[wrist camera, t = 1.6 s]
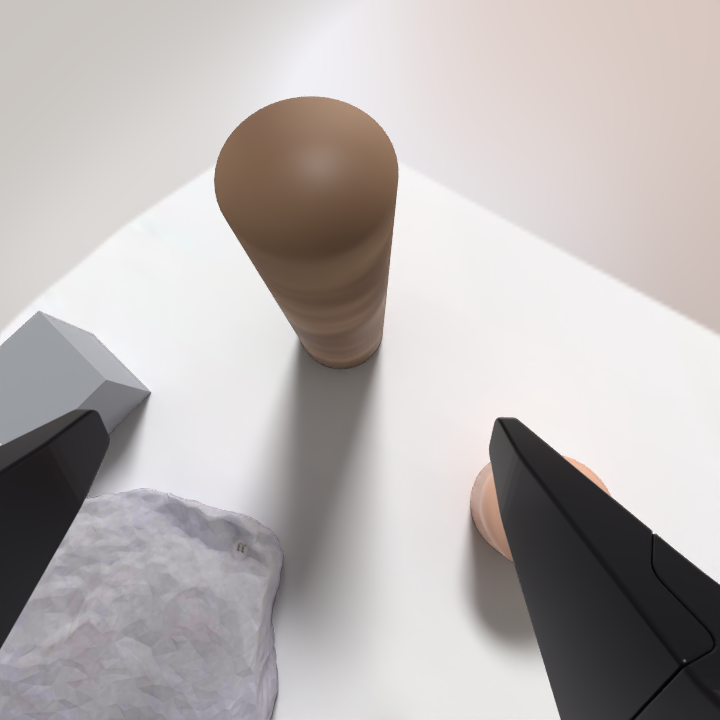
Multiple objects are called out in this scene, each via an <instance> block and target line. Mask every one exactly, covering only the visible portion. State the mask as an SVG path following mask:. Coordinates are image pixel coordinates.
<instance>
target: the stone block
mask: <svg viewBox="0 0 720 720" xmlns="http://www.w3.org/2000/svg"><path fill="white" fill-rule="evenodd" d="M282 563H283V553H282V550H281V548H280V545H279V542H278V539H277V537H276V535H275V534H274V533H273V532H272V531H271V530H270V529H269V528H266V527H265V526H263V525H262V524H260V523H259V522H258V521H257V520H255V519H253V518H251V517H248V516H245V515H243V514H239V513H235V512H231V511H225V510H221V509H217V508H214V507H210V506H206V505H204V504H202V503H200V502H198V501H195V500H187V499H183V498H180V497H177V496H175V495H173V494H171V493H164V492H160V491H156V490H152V489H145V488H141V489H136V490H132V491H127V492H122V493H118V494H103V495H100V496H98V497H94V498H85V500H84V503H83V505H82V507H81V509H80V510H79V512H78V514H77V516H76V518H75V520H74V521H73V523H72V525H71V527H70V528H69V530H68V532H67V534H66V535H65V537H64V539H63V541H62V542H61V544H60V546H59V548H58V549H57V551H56V553H55V555H54V556H53V558H52V560H51V562H50V563H49V565H48V567H47V569H46V570H45V572H44V574H43V576H42V577H41V579H40V581H39V583H38V585H37V586H36V588H35V590H34V592H33V593H32V595H31V597H30V599H29V600H28V602H27V604H26V606H25V607H24V609H23V611H22V613H21V614H20V616H19V618H18V620H17V621H16V623H15V625H14V627H13V628H12V630H11V632H10V634H9V635H8V637H7V639H6V641H5V642H4V644H3V646H2V648H1V649H0V720H270V719H271V715H272V712H273V707H274V703H275V699H276V696H277V693H278V671H277V665H276V652H275V647H274V629H273V625H272V623H271V618H272V607H273V604H274V600H275V596H276V592H277V590H278V587H279V584H280V571H281V568H282Z"/></svg>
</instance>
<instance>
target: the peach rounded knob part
mask: <svg viewBox="0 0 720 720" xmlns="http://www.w3.org/2000/svg"><path fill="white" fill-rule="evenodd" d="M563 457H564V458H565V459H566V460H567V461H569V462H570V463H571V464H572V465H573V466H575V467H576V468H577V469H578V470H580V471H581V472H582V473H583V474H584V475H586V476H587V477H588V478H589V479H590V480H592V481H593V482H594V483H595V484H596V485H598V486H599V487H600V488H601V489H602V490H604V491H605V492H606V493H607V494H608V495H610V493H609V491H608V490H607V488H606V486H605V485H604V484H603V482H602V481H601V480H600V479H599V477H598V476H597V475H596V474H595V473H594V472H592V471H591V470H590V469H589V468H588V467H586V466H585V465H583V464H582V463H580V462H578V461H576V460H574V459H571V458H569V457H565V456H563ZM610 496H611V495H610ZM471 511H472V516H473V519H474V522H475V525H476V527H477V529H478V531H479V532H480V534H481V535H482V537H483V538H484V539H485V540H486V541H487V542H488V543H489V544H490V545H491V546H492V547H493V548H495V549H496V550H497V551H499V552H500V553H501V554H502V555H504V556H505V557H506V558H508V559H509V560H510V561H512V562H513V563H514V561H513V558H512V555H511V551H510V548H509V545H508V541H507V538H506V535H505V531H504V528H503V524H502V521H501V517H500V512H499V506H498V501H497V495H496V489H495V484H494V478H493V472H492V466H491V462H490V463H489V464H487V465H486V466H485V467H484V468H483V469H482V470H481V472H480V473H479V475H478V476H477V478H476V480H475V482H474V485H473V488H472V492H471Z"/></svg>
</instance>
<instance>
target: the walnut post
mask: <svg viewBox="0 0 720 720" xmlns="http://www.w3.org/2000/svg"><path fill="white" fill-rule="evenodd" d="M214 184H215V193H216V198H217V202H218V205H219V207H220V210H221V212H222V214H223V216H224V217H225V219H226V221H227V222H228V224H229V226H230V227H231V229H232V231H233V232H234V234H235V235H236V237H237V239H238V240H239V242H240V243H241V245H242V247H243V248H244V250H245V252H246V253H247V255H248V256H249V258H250V260H251V261H252V263H253V265H254V266H255V268H256V269H257V271H258V273H259V274H260V276H261V277H262V279H263V281H264V282H265V284H266V286H267V287H268V289H269V290H270V292H271V294H272V295H273V297H274V298H275V300H276V302H277V303H278V305H279V307H280V308H281V310H282V311H283V313H284V315H285V316H286V318H287V319H288V321H289V323H290V324H291V326H292V328H293V329H294V331H295V332H296V334H297V336H298V337H299V339H300V340H301V342H302V344H303V345H304V347H305V349H306V350H307V352H308V353H309V354H310V355H311V356H312V357H313V358H314V359H315V360H316V361H317V362H319V363H321V364H322V365H325V366H327V367H331V368H336V369H346V368H352V367H355V366H358V365H360V364H362V363H364V362H365V361H366V360H368V359H369V358H370V357H371V356H372V355H373V354H374V353H375V351H376V350H377V348H378V347H379V344H380V342H381V339H382V334H383V325H384V315H385V305H386V295H387V285H388V275H389V265H390V255H391V245H392V236H393V226H394V216H395V206H396V196H397V186H398V163H397V157H396V154H395V151H394V148H393V145H392V143H391V141H390V139H389V137H388V136H387V134H386V133H385V132H384V130H383V129H382V127H381V126H379V124H378V123H377V122H376V121H375V120H374V119H373V118H371V117H370V116H369V115H368V114H366V113H365V112H363V111H362V110H360V109H358V108H357V107H354V106H352V105H350V104H348V103H345V102H342V101H339V100H335V99H330V98H325V97H297V98H290V99H286V100H282V101H279V102H276V103H273V104H270V105H268V106H266V107H264V108H262V109H260V110H258V111H257V112H255V113H254V114H252V115H251V116H249V117H248V118H247V119H245V121H243V122H242V123H241V124H240V125H239V126H238V127H237V128H236V129H235V130H234V131H233V132H232V134H231V135H230V136H229V138H228V139H227V141H226V142H225V144H224V146H223V148H222V150H221V152H220V155H219V157H218V160H217V164H216V168H215V177H214Z"/></svg>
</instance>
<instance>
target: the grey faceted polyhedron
mask: <svg viewBox="0 0 720 720" xmlns="http://www.w3.org/2000/svg"><path fill="white" fill-rule="evenodd" d="M150 393H151V392H150V391H149V390H148V389H147V388H146V387H145V386H144V385H143V384H142V383H141V382H140V381H139V380H138V379H137V378H136V377H135V376H134V375H133V374H132V373H131V372H130V371H129V370H128V369H127V368H126V367H125V366H124V365H123V364H122V363H121V362H120V361H119V360H118V359H117V358H116V357H115V356H114V355H113V354H112V353H111V352H110V351H109V350H108V349H107V348H106V347H105V346H104V345H103V344H102V343H101V342H100V341H99V340H98V339H97V338H96V337H95V336H94V335H93V334H92V333H89V332H87V331H85V330H82V329H80V328H78V327H75V326H73V325H71V324H68V323H66V322H64V321H61V320H59V319H57V318H54V317H52V316H50V315H47V314H45V313H43V312H40V311H38V312H37V313H36V314H35V315H34V316H33V317H31V318H30V319H29V320H28V321H27V322H26V323H25V324H24V325H23V326H22V327H21V328H19V329H18V330H17V331H16V332H15V333H14V334H13V335H12V336H11V337H10V338H8V339H7V340H6V341H5V342H4V343H3V344H2V345H1V346H0V443H1V444H2V445H4V444H6V443H8V442H10V441H12V440H14V439H16V438H18V437H20V436H22V435H24V434H26V433H28V432H30V431H32V430H34V429H36V428H38V427H40V426H42V425H44V424H46V423H48V422H50V421H52V420H54V419H56V418H58V417H60V416H62V415H64V414H66V413H68V412H70V411H72V410H75V409H95V410H97V411H98V412H99V413H100V415H101V418H102V420H103V422H104V424H105V427H106V429H107V431H108V434H110V433H111V432H112V431H113V430H114V429H115V428H116V427H117V426H118V425H119V424H120V423H121V422H122V421H123V420H124V419H125V418H126V417H127V416H128V415H129V414H130V413H131V412H132V411H133V410H134V409H135V408H136V407H137V406H138V405H139V404H140V403H141V402H142V401H143V400H144V399H145V398H146V397H147V396H148V395H149V394H150Z"/></svg>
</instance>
